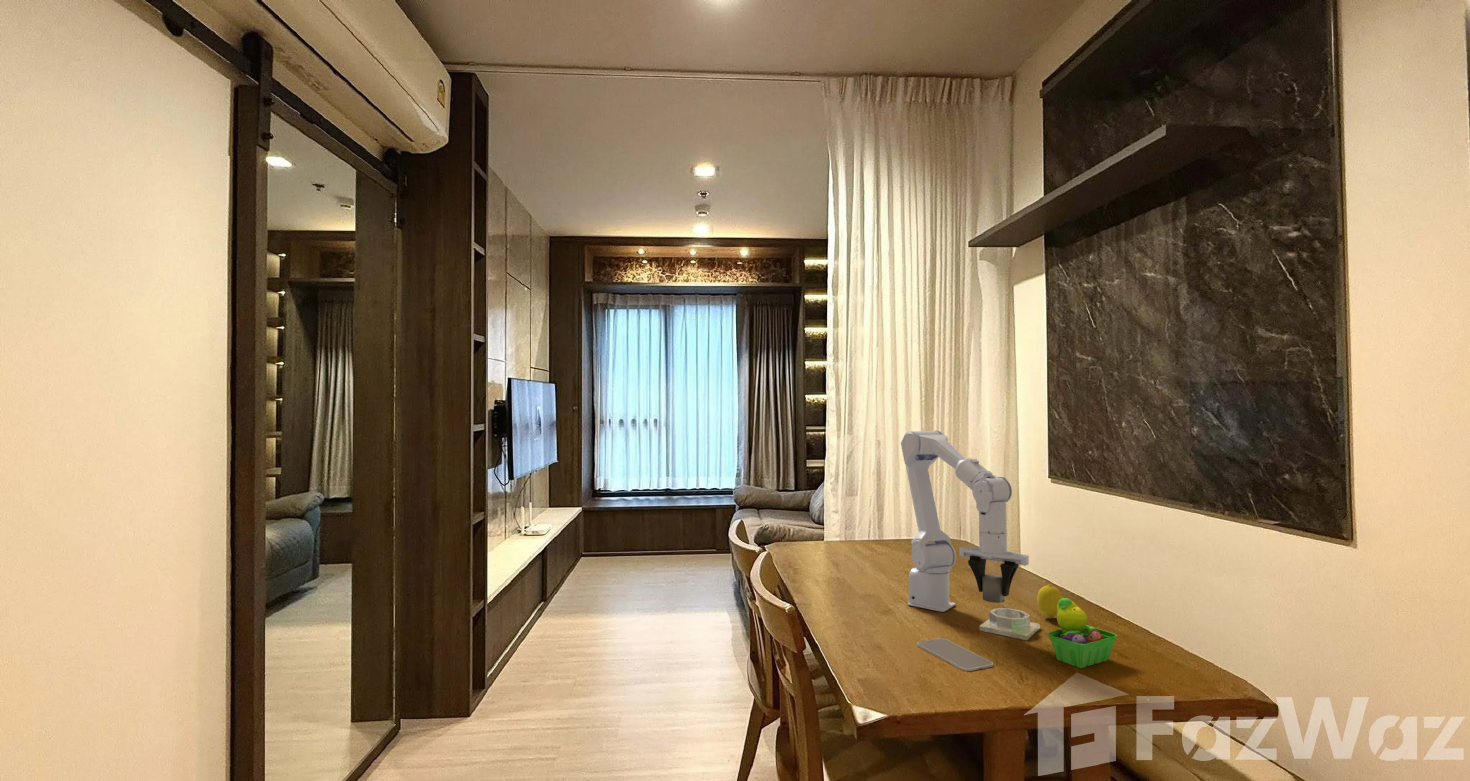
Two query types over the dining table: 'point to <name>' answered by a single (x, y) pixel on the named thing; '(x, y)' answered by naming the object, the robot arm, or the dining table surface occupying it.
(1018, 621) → the octagonal socket plate
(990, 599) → the cylindrical peg
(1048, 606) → the lemon
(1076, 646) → the fruit basket
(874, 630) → the dining table surface
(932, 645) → the smartphone
